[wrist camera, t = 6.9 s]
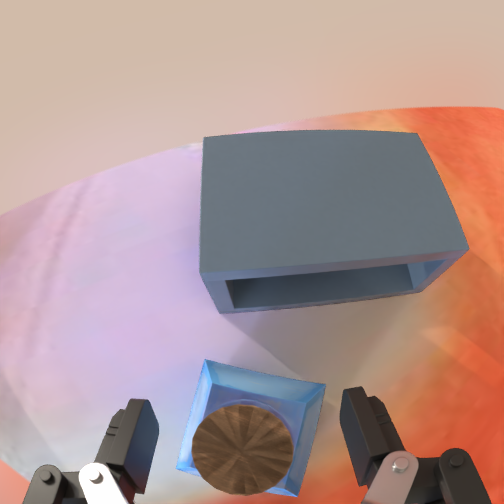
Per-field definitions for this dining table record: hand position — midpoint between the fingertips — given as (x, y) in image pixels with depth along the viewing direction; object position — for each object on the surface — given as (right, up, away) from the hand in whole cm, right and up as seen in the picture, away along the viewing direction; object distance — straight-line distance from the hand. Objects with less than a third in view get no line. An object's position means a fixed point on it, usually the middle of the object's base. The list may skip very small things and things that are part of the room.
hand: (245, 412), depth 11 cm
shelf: (+6, +7, +13) cm, 16 cm away
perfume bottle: (0, -5, +7) cm, 9 cm away
